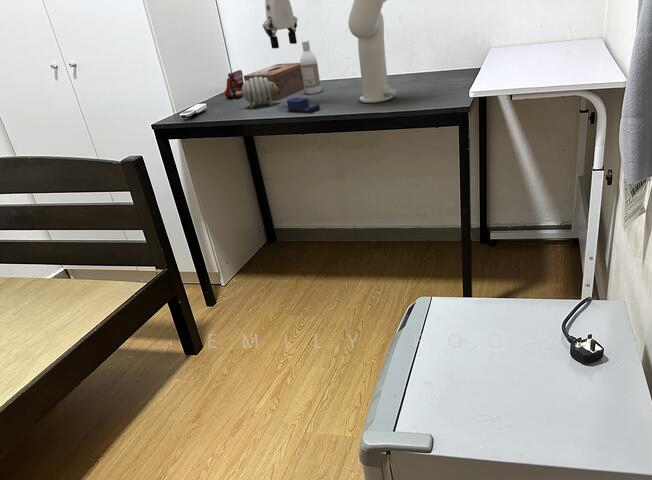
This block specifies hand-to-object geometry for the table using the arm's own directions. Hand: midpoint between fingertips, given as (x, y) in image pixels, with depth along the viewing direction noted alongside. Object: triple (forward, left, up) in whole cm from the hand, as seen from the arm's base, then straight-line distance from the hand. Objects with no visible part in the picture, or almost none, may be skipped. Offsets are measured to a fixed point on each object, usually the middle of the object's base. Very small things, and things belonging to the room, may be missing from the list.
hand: (284, 45), depth 208 cm
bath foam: (+7, -20, -21) cm, 30 cm away
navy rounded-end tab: (-12, +8, -21) cm, 26 cm away
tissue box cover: (+24, -17, -21) cm, 36 cm away
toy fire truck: (+42, -9, -21) cm, 48 cm away
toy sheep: (+15, +4, -21) cm, 26 cm away
